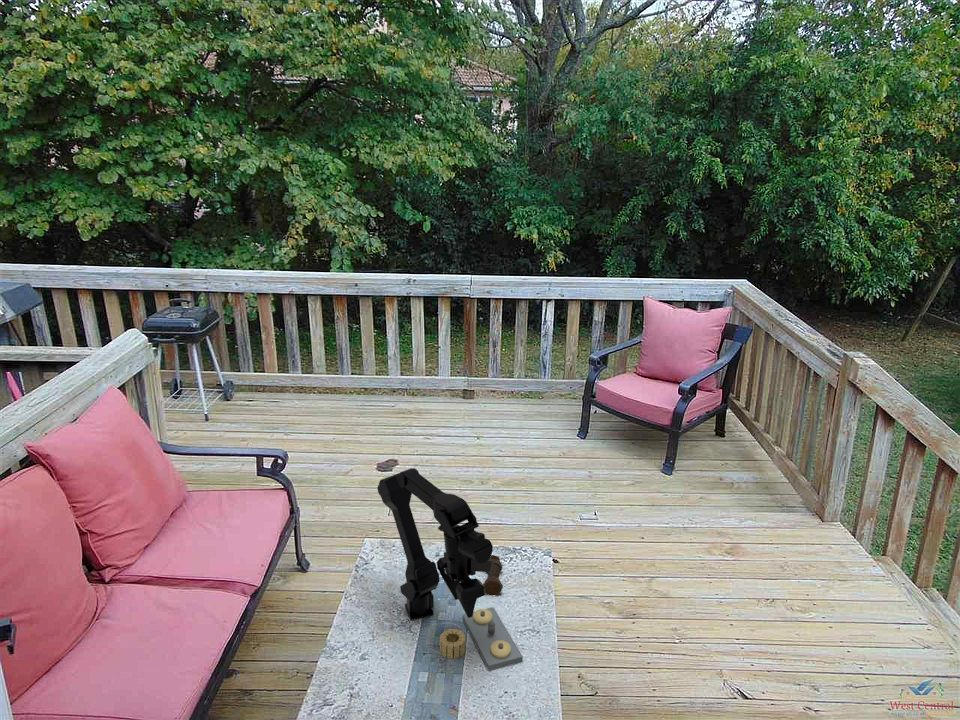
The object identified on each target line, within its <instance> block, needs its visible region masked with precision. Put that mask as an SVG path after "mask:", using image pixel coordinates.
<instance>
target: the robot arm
mask: <svg viewBox="0 0 960 720" xmlns="http://www.w3.org/2000/svg"><path fill="white" fill-rule="evenodd" d="M377 492H378V495H379V497H380V498H381V501H382V504H384V505H385V506H387V507H388V509H390V510H391V512H392V516H393V519H394V521H395V525H396V528H397V532H398V535H399V539H400V541H401V545H402V548H403V552H404V555H405V558H406V561H407V562H406V563H407V564H406V569H405V573H404V574H405V580H406V582H405V583H402V585H400V586H399V588H400V592H401V595H403V596H404V597H405V598H406V603H405V604H404V606H405V609H406V611H407V614H408V617H409V619H410V620H411V621H414V620H416V619H417V618H418V619H421V618H427V617H429V616H433V615H434V614H435V613H434V610H433V609H434V604H435V603H434V594H433V592H432V591H434V590H437V588H438V586H439V583H440V576H441V578H442V579H443V581H444V583H445V584H446V587H447V588H448V589H449V592H450V593H451V594H452V597H453V599H454V600H455V601H456V600H458V602H459V603H460V605H461V607H462V609H463V611H464V614H466V615H467V617H468V618H470V617H472V616H473V612H475V607H476V603H477V600H478V599H479V598H481V597H482V598H483V597H485V596H486V595H487V594H486V592H485V586H484V585H483V582H482V581H481V580H480V579H478V578H476V577H475V578H471V577H470V576H475V575H477V573H476V572H479V573H486V574H488V573H490V572H491V568H492V564H493V559H492V558H491V555H493V551H494V546H493V544H492V541H490V539H488V538H486V535H485V533H483V532H478V531H476V530H475V529H477V528H479V527H480V525H479V522H478V521H477V517H476V516H475V514H474V513H473V511H472V509H471V507H470V506H469V504H468V502H467V501H466V500H465V499H463V498H462V497H460V496H458V495H456V494H453V493H447V492H446V493H445V492H444V491H442V490H441V489H440V488H439V487H437V486H436V485H434V484H433V483H432V482H431V481H429V479H427V478H426V477H424V476H423V475H421V474H420V473H419V470H417V468H415V467H413V468H412V467H410V468H408V469H406V470H405V469H404V470H402V471H399V472H398V473H395V474H393V475H390V476H386V477H384V478H382V479H380V480H379V482H378V485H377ZM412 495H414V496H415V497H416V498H417V499H418V500H420V501H421V502H422V503H424V504H425V505H426V506H428V508H430V509H431V511H432V513H433V518H434V520H436V521H437V523H439V526H438V527H437V529H438V531H441V532H443V539H444V540H443V541H444V548H445V551H444V552H443V557H439V558H438V560H437V561H436V562H435V561H431V560H430V559H428V557H427V556H426V553H425V550H424V548H423V545H422V544H423V543H422V541H421V538H420V534H419V532H418V531H419V530H418V528H417V525H416V522H415V519H414V514H413V513H412V510H411V509H412V508H411V505H410V503H411V498H412ZM465 521H467V522H465ZM464 522H465V523H464ZM461 523H464V524H462V525H460V524H461Z"/></svg>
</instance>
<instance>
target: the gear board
mask: <svg viewBox="0 0 960 720" xmlns="http://www.w3.org/2000/svg"><path fill="white" fill-rule="evenodd" d="M461 617H462V621H463V623H464V625H465V627H466V629H467V631H468V633H469V636H470V637H471V639H472V641H473V644H475V646H476V649H477V650H478V652H479V653H478V654H480V656H481V658H482V661H483V662H484V665H485V666H486V668H487V670H488V672H489V671H493V670H496V669H500V668H504V667H507V666H512V665H513V664H519V663H523V659H524V658H523V655H522V652H521V651H520V649H519V648H518V646H517V645H516V642H515V641H514V640H513V638H512V636H511V634H510V633H509V631H508V629H507V628H506V626H505V624H504V623H503V621H502V619H501V617H500V616H499V614H498V612H497V611H496V608H495V607H494V606H492V607H488V608H479V609H476V610H474V612H473V616H472V617H470V618H468V617H467V615H466V613H463V614H462V615H461Z"/></svg>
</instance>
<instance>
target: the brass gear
mask: <svg viewBox="0 0 960 720" xmlns="http://www.w3.org/2000/svg"><path fill="white" fill-rule="evenodd" d="M466 642H467V637H466V635H465V633H464V632H463V631H462V630H460V629H456V628H450V629H446V630H444V631H443V632H442V633H441V634H440V636H439V652H440V654H441V656H443V657H444V658H446V659H451V660H453V659H455V660H456V659H459V658H460V657H462V656H463V655H464V654H465V653H466Z"/></svg>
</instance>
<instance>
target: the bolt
mask: <svg viewBox="0 0 960 720" xmlns="http://www.w3.org/2000/svg"><path fill="white" fill-rule="evenodd" d="M491 558H492V559H493V564H492V568H491V572H490V573H487V578H486V579H485V581H483V582H482V584H483V585H484V586H485V592H486V594H485V595H488V596H493V595H495V596H499V594H500V593H501V592H502V590H503V588H504V586H503V584H502V582H501V580H500V573H501V571H502V570H503V565H502V563H501V558H500V557H499V556H497V555H494V554H492V555H491Z"/></svg>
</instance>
